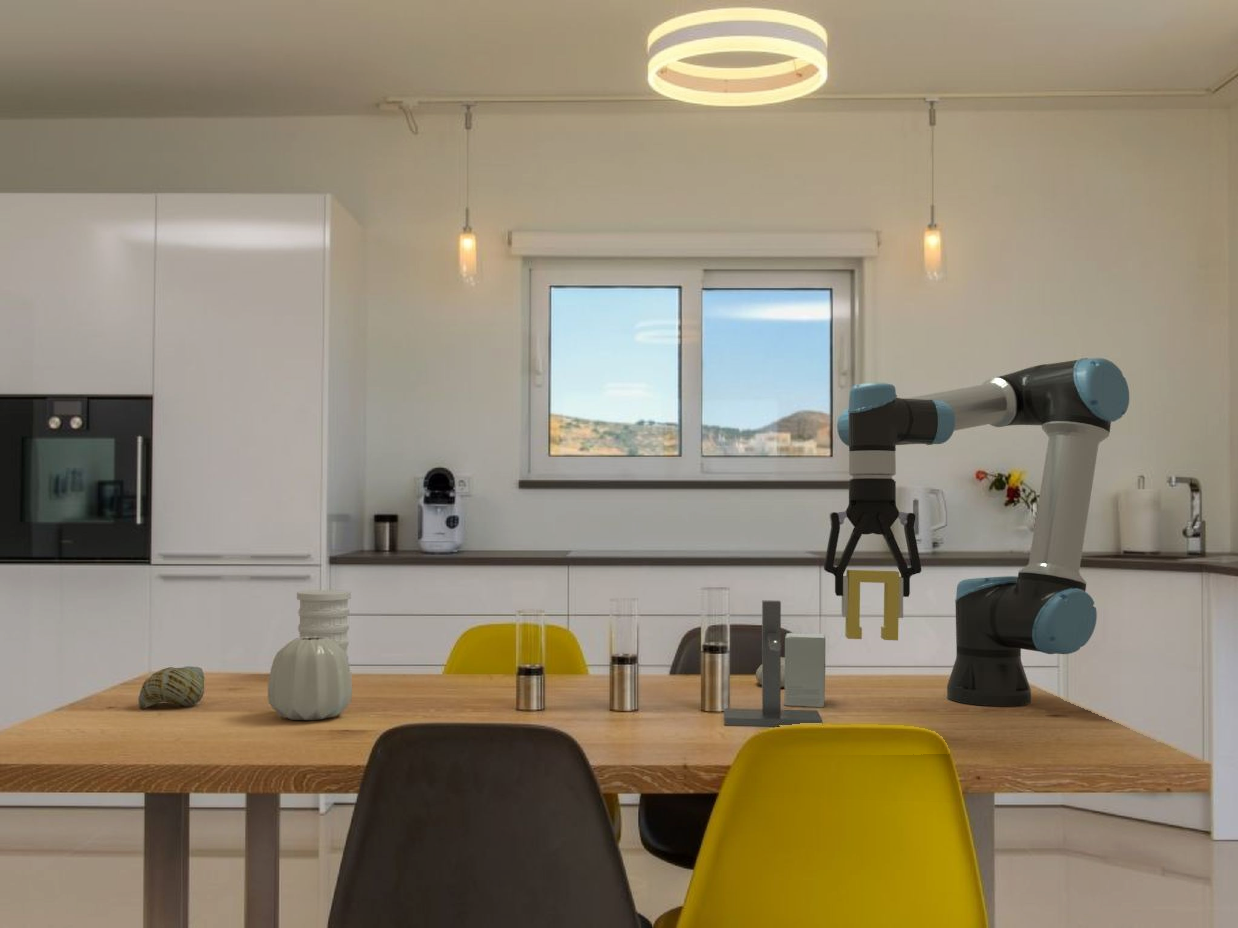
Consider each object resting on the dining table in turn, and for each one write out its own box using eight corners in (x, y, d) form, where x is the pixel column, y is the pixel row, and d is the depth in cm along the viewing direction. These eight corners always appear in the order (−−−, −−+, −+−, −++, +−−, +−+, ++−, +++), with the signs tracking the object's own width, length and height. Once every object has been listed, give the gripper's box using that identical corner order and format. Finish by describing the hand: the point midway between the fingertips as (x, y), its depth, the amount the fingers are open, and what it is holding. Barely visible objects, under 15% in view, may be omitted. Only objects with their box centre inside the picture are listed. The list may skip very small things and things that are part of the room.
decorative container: (307, 674, 240) (308, 589, 241) (359, 676, 239) (361, 590, 239) (283, 683, 229) (285, 593, 229) (338, 684, 227) (340, 594, 228)
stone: (790, 703, 237) (773, 669, 240) (826, 679, 232) (808, 645, 236) (757, 705, 227) (740, 669, 231) (794, 680, 222) (776, 645, 226)
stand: (817, 717, 196) (817, 600, 196) (826, 736, 179) (826, 609, 180) (724, 715, 197) (724, 599, 198) (725, 734, 181) (725, 607, 181)
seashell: (123, 703, 201) (148, 650, 205) (169, 722, 207) (192, 670, 211) (152, 707, 194) (177, 652, 198) (199, 726, 200) (222, 672, 205)
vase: (263, 712, 196) (265, 635, 197) (345, 707, 202) (346, 632, 202) (272, 727, 184) (274, 644, 184) (359, 721, 189) (360, 640, 190)
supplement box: (824, 707, 205) (824, 637, 206) (783, 705, 207) (783, 636, 207) (825, 700, 213) (825, 633, 213) (785, 699, 214) (786, 631, 214)
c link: (894, 637, 187) (895, 571, 187) (898, 640, 183) (899, 572, 184) (845, 636, 188) (846, 569, 188) (847, 638, 184) (849, 570, 184)
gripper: (932, 478, 189) (933, 615, 189) (805, 477, 191) (805, 613, 190) (941, 477, 182) (942, 619, 181) (809, 476, 184) (809, 617, 183)
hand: (872, 616), depth 186 cm, fingers closed on c link, 8 cm apart
